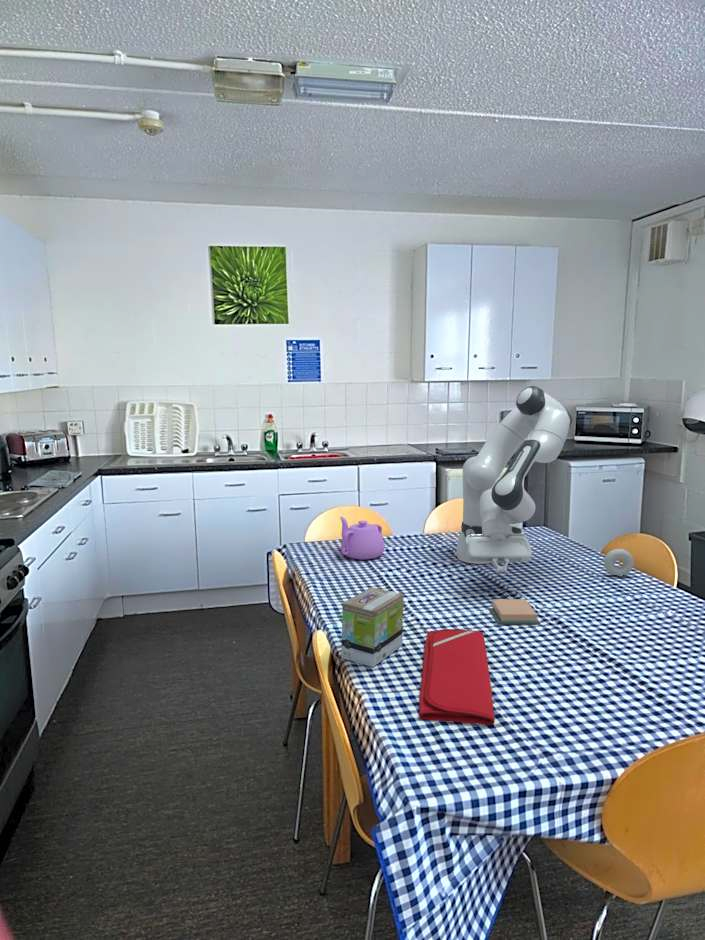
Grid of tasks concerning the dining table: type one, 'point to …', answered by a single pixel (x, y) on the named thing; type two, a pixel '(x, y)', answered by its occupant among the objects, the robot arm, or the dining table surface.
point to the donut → (616, 554)
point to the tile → (514, 610)
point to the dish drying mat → (456, 678)
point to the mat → (509, 622)
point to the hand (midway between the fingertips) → (502, 572)
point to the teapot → (362, 540)
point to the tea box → (372, 626)
